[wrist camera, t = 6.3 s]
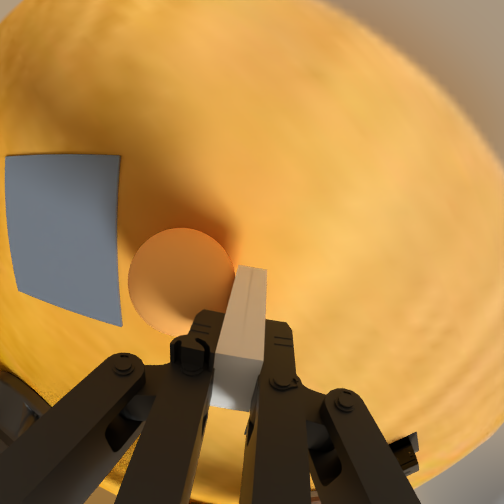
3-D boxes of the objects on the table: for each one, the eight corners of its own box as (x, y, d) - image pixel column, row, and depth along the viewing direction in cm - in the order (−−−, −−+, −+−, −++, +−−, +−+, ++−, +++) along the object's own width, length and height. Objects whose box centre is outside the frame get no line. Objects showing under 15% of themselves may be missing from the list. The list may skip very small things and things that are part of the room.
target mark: (19, 289, 18) (18, 290, 18) (7, 156, 14) (5, 156, 14) (122, 325, 18) (121, 327, 18) (120, 155, 14) (119, 155, 14)
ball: (198, 294, 18) (120, 311, 15) (204, 213, 16) (114, 220, 13) (250, 339, 14) (156, 372, 11) (265, 241, 13) (148, 258, 9)
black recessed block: (367, 441, 24) (375, 472, 20) (423, 415, 23) (436, 444, 18) (382, 467, 28) (387, 490, 23) (426, 447, 26) (434, 469, 22)
